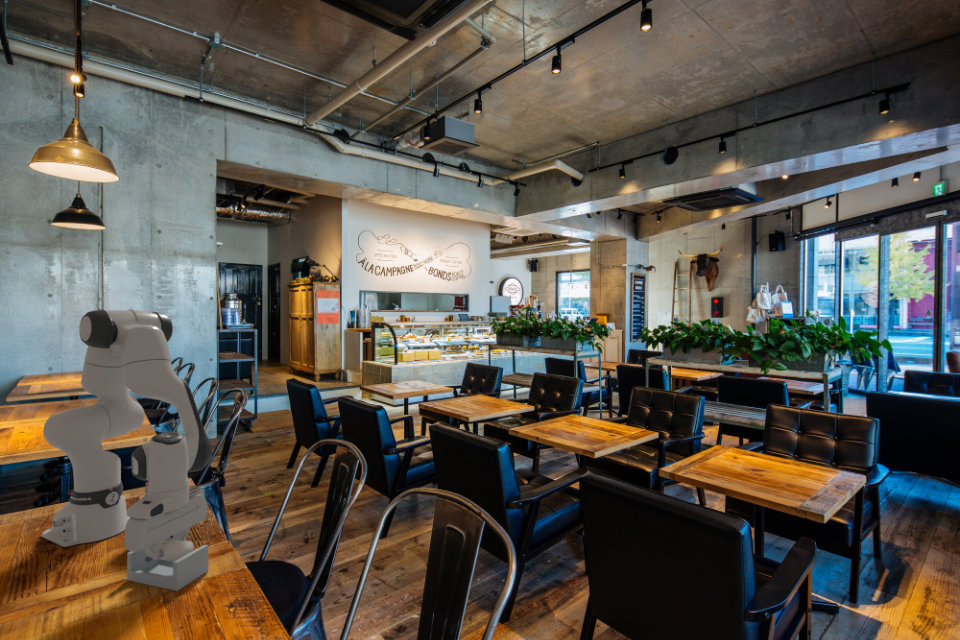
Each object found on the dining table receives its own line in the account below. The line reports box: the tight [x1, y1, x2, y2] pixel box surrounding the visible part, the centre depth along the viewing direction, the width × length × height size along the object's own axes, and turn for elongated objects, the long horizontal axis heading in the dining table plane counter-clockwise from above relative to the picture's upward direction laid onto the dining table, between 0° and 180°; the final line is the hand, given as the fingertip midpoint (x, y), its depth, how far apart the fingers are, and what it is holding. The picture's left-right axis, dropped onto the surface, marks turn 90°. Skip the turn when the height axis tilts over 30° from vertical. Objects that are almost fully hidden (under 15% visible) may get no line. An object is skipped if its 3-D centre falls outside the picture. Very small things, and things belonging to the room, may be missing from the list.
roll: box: [145, 538, 195, 562], centre depth 119 cm, size 10×5×5 cm, turn 74°
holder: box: [126, 544, 209, 592], centre depth 119 cm, size 16×9×7 cm, turn 74°
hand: (169, 552), depth 119 cm, fingers closed on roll, 5 cm apart
